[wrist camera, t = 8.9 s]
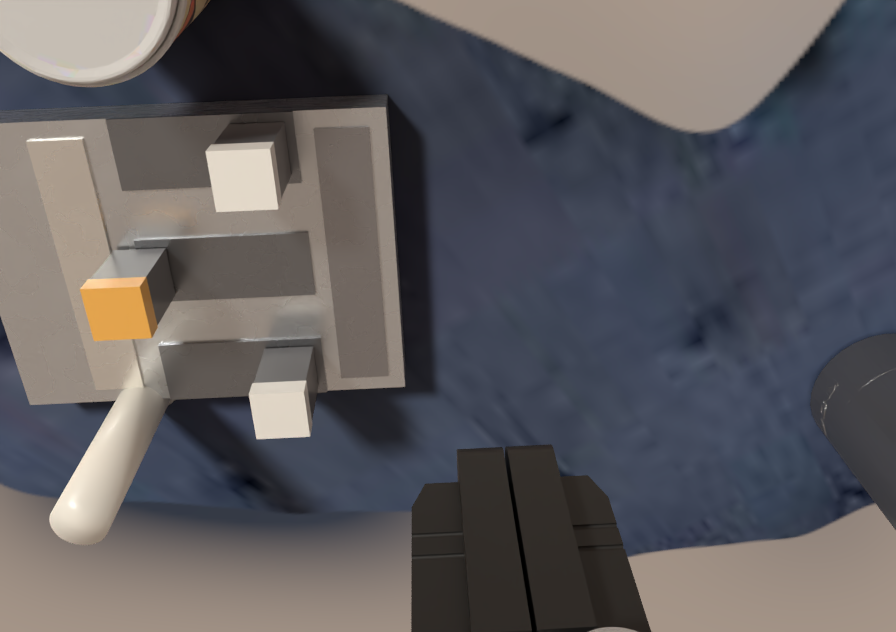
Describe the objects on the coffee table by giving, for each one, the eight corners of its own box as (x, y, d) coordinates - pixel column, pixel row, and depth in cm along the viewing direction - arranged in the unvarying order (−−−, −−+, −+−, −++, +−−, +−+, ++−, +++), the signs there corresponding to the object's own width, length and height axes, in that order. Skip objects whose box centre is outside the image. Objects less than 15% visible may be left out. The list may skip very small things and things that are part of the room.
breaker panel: (387, 94, 46) (385, 107, 44) (405, 362, 55) (405, 388, 52) (-36, 111, 46) (-65, 126, 43) (48, 379, 54) (28, 406, 52)
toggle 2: (285, 121, 44) (269, 148, 39) (292, 176, 45) (278, 209, 40) (227, 123, 44) (205, 151, 39) (236, 178, 45) (216, 212, 40)
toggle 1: (166, 247, 47) (139, 286, 42) (176, 295, 48) (151, 338, 44) (112, 249, 47) (79, 289, 42) (124, 297, 48) (94, 341, 44)
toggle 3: (313, 345, 50) (303, 391, 46) (319, 387, 52) (310, 436, 47) (263, 347, 50) (248, 394, 46) (270, 389, 52) (256, 439, 47)
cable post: (176, 355, 54) (105, 495, 42) (186, 400, 56) (121, 547, 43) (121, 358, 54) (35, 498, 42) (133, 403, 56) (53, 551, 43)
